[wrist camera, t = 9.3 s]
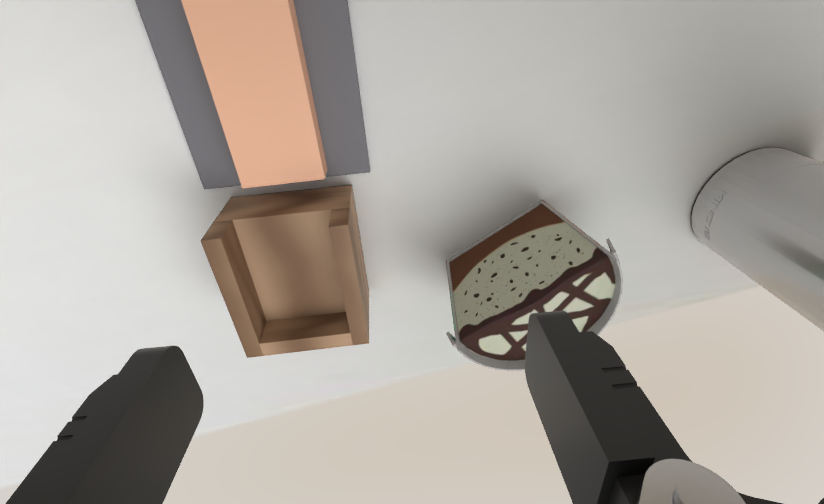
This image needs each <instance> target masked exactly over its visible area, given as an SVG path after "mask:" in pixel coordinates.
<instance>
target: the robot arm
mask: <svg viewBox="0 0 824 504" xmlns="http://www.w3.org/2000/svg"><path fill="white" fill-rule="evenodd" d="M691 221H692V229H693V232H694V234H695V236H696V237H697V238H698V240H699V241H701V242H702V243H703V244H705V245H706V246H708V247H709V248H710V249H712V250H713V251H714V252H716V253H717V254H718V255H720V256H721V257H723V258H724V259H725V260H727V261H728V262H729V263H731V264H732V265H733V266H735V267H736V268H737V269H739V270H740V271H741V272H743V273H744V274H746V275H747V276H748V277H750V278H751V279H752V280H754V281H755V282H757V283H758V284H759V285H761V286H762V287H763V288H765V289H766V290H768V291H769V292H770V293H772V294H773V295H775V296H776V297H777V298H779V299H780V300H781V301H783V302H784V303H786V304H787V305H789V306H790V307H791V308H793V309H794V310H795V311H797V312H798V313H800V314H801V315H802V316H804V317H805V318H806V319H808V320H809V321H810V322H812V323H813V324H815V325H816V326H818V327H819V328H820V329H821V330H823V331H824V163H823V162H820V161H817V160H814V159H811V158H808V157H806V156H803V155H800V154H797V153H794V152H792V151H789V150H786V149H782V148H774V147H772V148H762V149H758V150H755V151H751V152H748V153H746V154H744V155H742V156H740V157H738V158H736V159H734V160H733V161H731V162H730V163H728V164H727V165H725V166H724V167H723V168H722V169H720V170H719V171H718V172H717V173H716V174H715V175H714V176H713V177H712V178H711V179H710V180H709V181H708V183H707V184H706V185H705V186H704V188H703V189H702V191H701V192H700V194H699V196H698V197H697V200H696V202H695V205H694V207H693V212H692V216H691ZM525 373H526V379H527V383H528V387H529V390H530V393H531V395H532V398H533V400H534V403H535V406H536V408H537V411H538V413H539V416H540V419H541V421H542V424H543V426H544V429H545V432H546V434H547V437H548V439H549V442H550V444H551V447H552V450H553V453H554V455H555V457H556V460H557V463H558V466H559V468H560V470H561V473H562V476H563V479H564V481H565V484H566V486H567V489H568V491H569V494H570V497H571V499H572V502H573V504H782V503H777V502H773V501H768V500H764V499H759V498H754V497H750V496H747V495H744V494H741V493H738V492H737V491H736V490H735V489H734V488H733V487H732V486H731V485H730V484H729V483H727V482H726V481H725V480H724V479H723V478H721V477H720V476H719V475H717V474H716V473H714V472H712V471H711V470H709V469H707V468H705V467H703V466H701V465H699V464H696V463H693V462H692V461H691V460H690V459H689V458H688V456H687V455H686V454H685V452H684V451H683V450H682V448H681V447H680V445H679V444H678V442H677V441H676V439H675V438H674V436H673V435H672V433H671V432H670V431H669V429H668V428H667V426H666V425H665V423H664V422H663V420H662V419H661V417H660V416H659V415H658V413H657V412H656V410H655V408H654V407H653V406H652V404H651V403H650V401H649V400H648V398H647V397H646V395H645V394H644V392H643V391H642V389H641V388H640V387H638V386H637V382H636V381H635V379H634V378H633V376H632V375H631V373H630V372H629V370H626V367H625V364H624V363H623V361H622V360H621V359H620V357H619V356H618V354H617V353H616V351H615V350H614V348H613V347H612V346H611V345H610V344H608V343H607V342H606V341H604V340H603V339H602V338H600V337H599V336H598V335H597V334H595V333H594V332H593V331H587V332H579V331H578V329H577V327H576V326H575V324H574V323H573V321H572V319H571V318H570V316H569V314H568V313H567V312H566V311H563V310H562V311H552V312H541V313H532V314H530V316H529V321H528V332H527V343H526V353H525ZM202 412H203V394H202V391H201V389H200V387H199V385H198V383H197V380H196V378H195V376H194V374H193V372H192V370H191V368H190V366H189V364H188V362H187V360H186V358H185V356H184V353H183V352H182V350H181V349H180V348H179V347H177V346H166V347H155V348H144V349H139V350H137V351H136V352H135V353H134V354H133V355H132V356H131V357H130V359H129V360H128V362H127V363H126V364H125V366H124V367H123V368H122V370H121V371H120V372H119V374H118V375H113V376H112V377H110V378H109V379H108V380H107V381H106V382H104V383H103V384H102V385H101V386H100V387H98V388H97V389H96V390H95V391H93V392H92V393H91V394H90V395H89V396H88V397H87V399H86V400H85V401H84V402H83V404H82V405H81V406H80V408H79V409H78V410H77V412H76V413H75V414H74V415H73V417H72V421H71V422H68V423H67V425H66V426H65V427H64V428H63V430H62V431H61V432H60V434H59V435H58V436H57V437H58V440H57V441H53V443H52V444H51V445H50V447H49V448H48V449H47V451H46V452H45V453H44V454H43V456H42V457H41V458H40V460H39V461H38V462H37V464H36V465H35V466H34V467H33V469H32V470H31V471H30V473H29V474H28V475H27V477H26V478H25V479H24V480H23V482H22V483H21V484H20V486H19V487H18V488H17V490H16V491H15V492H14V493H13V495H12V496H11V498H10V499H9V500H8V501H7V503H6V504H162V503H163V501H164V499H165V497H166V494H167V492H168V490H169V488H170V486H171V483H172V481H173V479H174V477H175V474H176V472H177V470H178V468H179V466H180V463H181V461H182V459H183V457H184V454H185V452H186V450H187V448H188V446H189V443H190V441H191V439H192V437H193V435H194V432H195V430H196V428H197V426H198V424H199V421H200V419H201V416H202ZM818 504H824V498H823V499H822V500H821V501H820V502H819V503H818Z"/></svg>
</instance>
